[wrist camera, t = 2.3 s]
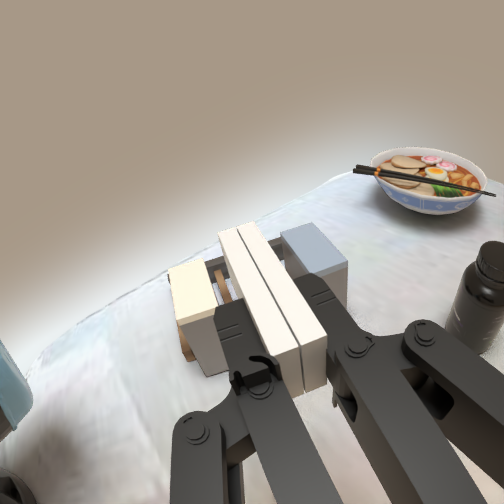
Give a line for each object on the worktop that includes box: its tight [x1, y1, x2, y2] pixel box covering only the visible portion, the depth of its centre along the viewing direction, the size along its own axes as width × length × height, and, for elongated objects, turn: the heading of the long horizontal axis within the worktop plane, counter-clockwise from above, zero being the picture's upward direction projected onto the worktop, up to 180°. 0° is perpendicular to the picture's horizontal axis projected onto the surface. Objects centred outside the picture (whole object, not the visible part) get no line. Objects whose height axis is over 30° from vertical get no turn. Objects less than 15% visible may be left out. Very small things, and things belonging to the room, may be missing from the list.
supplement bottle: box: [446, 241, 504, 354], centre depth 27 cm, size 7×7×12 cm
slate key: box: [280, 222, 348, 309], centre depth 36 cm, size 8×4×10 cm, turn 17°
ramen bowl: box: [353, 147, 496, 215], centre depth 51 cm, size 25×23×8 cm
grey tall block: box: [168, 258, 229, 377], centre depth 34 cm, size 8×4×10 cm, turn 17°
